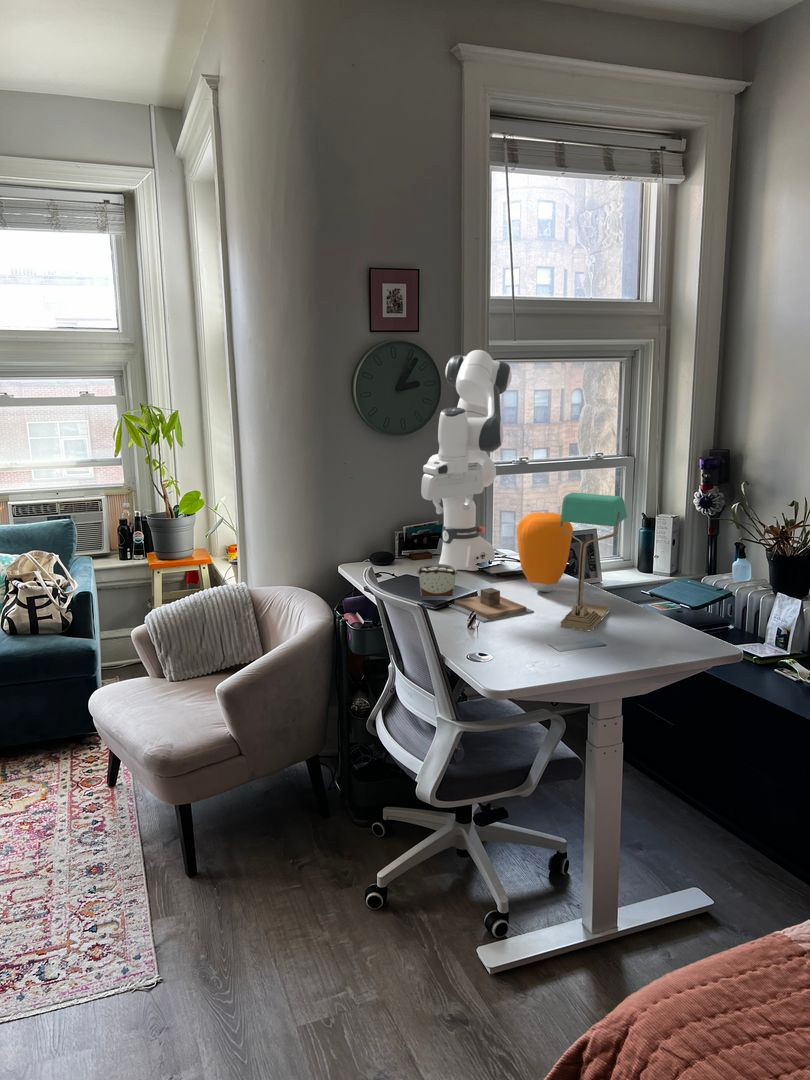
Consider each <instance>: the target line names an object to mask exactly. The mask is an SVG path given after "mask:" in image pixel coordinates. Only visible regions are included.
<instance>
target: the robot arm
mask: <svg viewBox="0 0 810 1080" xmlns="http://www.w3.org/2000/svg"><path fill="white" fill-rule="evenodd" d="M444 373H445V378H446V382H447V384H448V385H450V386H451V387H455V390H456V392H457V395H459V400H458V403H457V407H447V408H444V409H442V410H441V412H440V413H439V414H440V415H439V420H438V429H437V442H438V446H439V449H438V453H436V454H432V455H431V456H430V457H429V459H428V461H427V462H426V464H423V467H422V471H423V473H424V474H423V476H422V478H421V486H420V487H421V488H420V491H421V497H422V499H424V500H426V501H432V504H433V505H434V507H435V513H436V514H437V515H443V525H442V529H441V531H442V532H441V535H442V548H441V555H440V557H439V562H438V564H445V565H450V566H453V567H455V568H456V570H457V571H470V572H471V571H472V572H473V571H474V572H476V571H480V570H479V569H478V567H476V566H475V564H477V563H482V562H486V561H489V560H494V559H495V557H496V553H495V549H494V546H493V545H492V544H491V543H490V542H488V541H487V540H486V539H485V538H483V537H482V536H481V535H480V533H482V534H483V533H485V532H486V527H485V526H481V525H480V526H478V525H476V523H477V521H476V520H477V519H476V517H477V510H476V509H477V505H476V503H475V501H474V495H479V494H482V493H483V491H484V490H485V489H484V488H486V487H490V486H491V485H492V483H493V482H494V481H495V479H496V475H497V468H496V467H497V466H496V464H495V463H494V461H493V460H492V458H490V456H489V454H488V453H487V452H490V453H494V452H495V451H497V450H499V448H500V447H501V446H502V444H503V442H504V441H503V440H504V428H503V425H502V413H501V412H502V409H501V396H500V395H502V394H503V393H505V392H506V391H507V389H508V388H509V386H510V385H511V382H512V377H513V376H512V375H513V374H512V369H511V366H510V364H508V363H507V362H504V361H501V360H500V361H498V360H494V359H493V358H492V356H491V355H490V354H489V352H488V351H485V350H482V349H475V350H472V351H469V352H468V353H467V354H466V355H462V354H457V355H453V356H452V357H450V358H449V360H448V362H447V363H446V367H445V372H444ZM441 501H442V502H441ZM440 503H442V505H443V507H442V505H440Z"/></svg>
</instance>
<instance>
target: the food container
mask: <svg viewBox="0 0 810 1080" xmlns="http://www.w3.org/2000/svg"><path fill="white" fill-rule="evenodd" d="M416 575H418V580H419V588H420V589H419V590H420V597H421V596H453V597H454V592H455V586H456V577H458V576H459V575H458V570H456V568H455V567H453V566H450V565H445V564H439V563H432V564H424V565H420V566H418V569H417V571H416ZM456 575H457V576H456Z"/></svg>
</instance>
